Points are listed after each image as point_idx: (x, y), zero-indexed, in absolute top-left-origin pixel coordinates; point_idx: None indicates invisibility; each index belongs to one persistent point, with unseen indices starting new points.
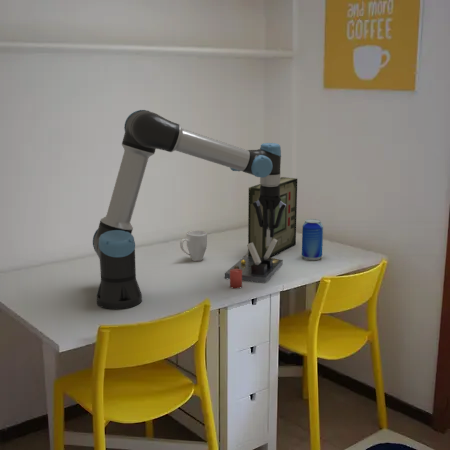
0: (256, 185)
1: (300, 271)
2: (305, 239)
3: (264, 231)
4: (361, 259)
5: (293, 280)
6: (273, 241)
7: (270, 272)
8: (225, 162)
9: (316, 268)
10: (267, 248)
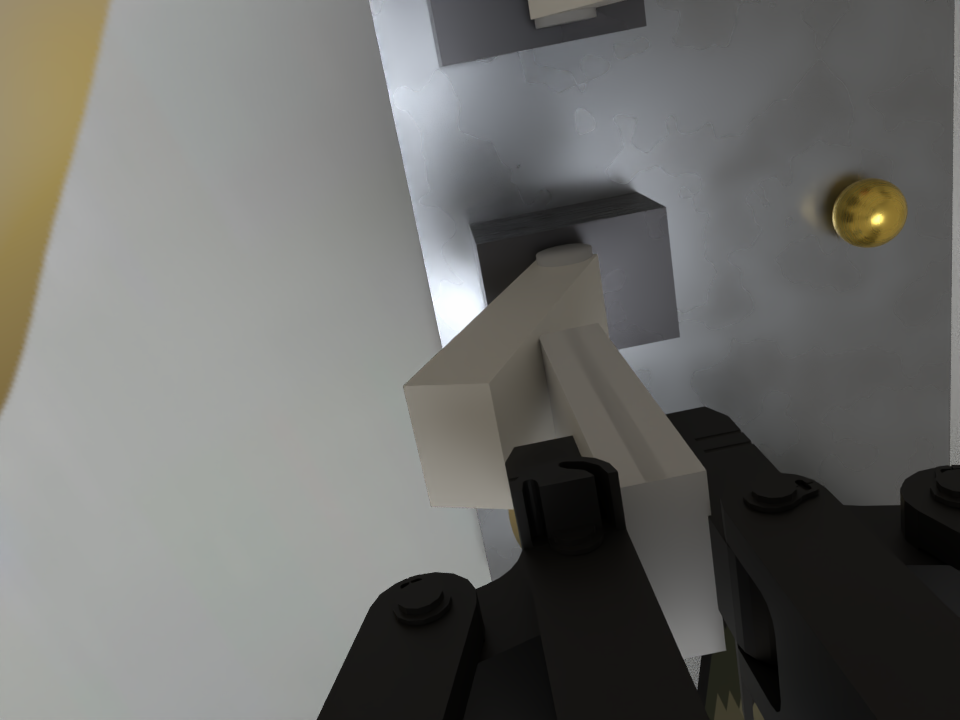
0: None
1: (205, 466)
2: None
3: (761, 463)
4: None
5: (88, 125)
6: (459, 378)
7: (387, 76)
8: None
9: (117, 635)
10: (755, 711)
